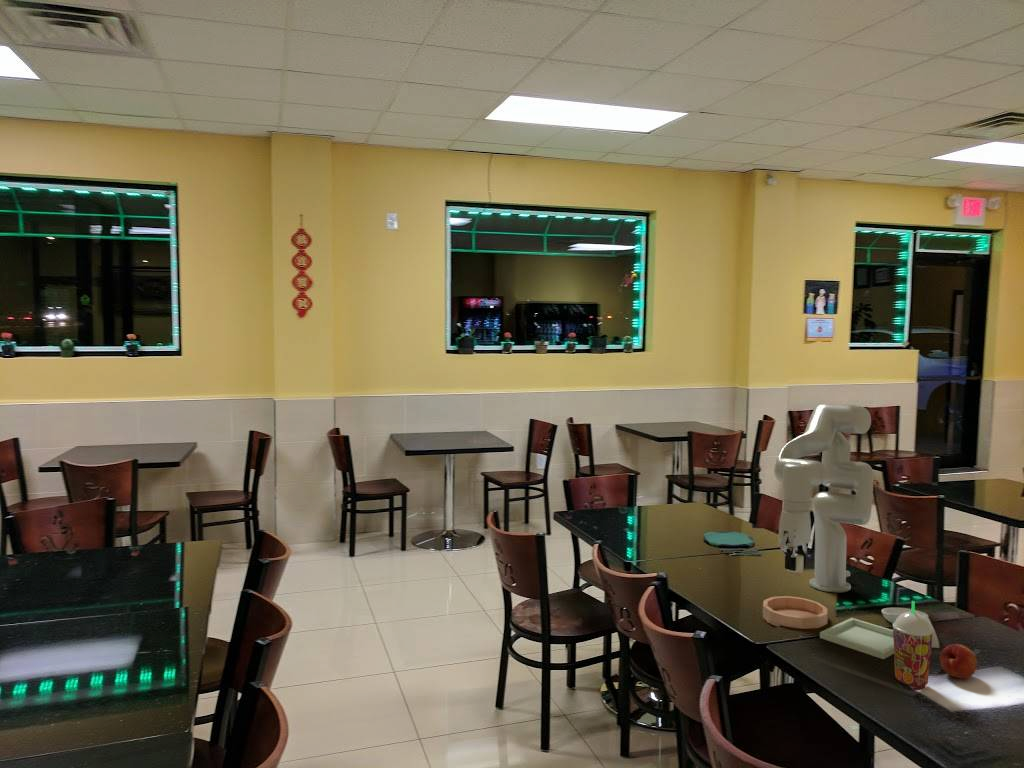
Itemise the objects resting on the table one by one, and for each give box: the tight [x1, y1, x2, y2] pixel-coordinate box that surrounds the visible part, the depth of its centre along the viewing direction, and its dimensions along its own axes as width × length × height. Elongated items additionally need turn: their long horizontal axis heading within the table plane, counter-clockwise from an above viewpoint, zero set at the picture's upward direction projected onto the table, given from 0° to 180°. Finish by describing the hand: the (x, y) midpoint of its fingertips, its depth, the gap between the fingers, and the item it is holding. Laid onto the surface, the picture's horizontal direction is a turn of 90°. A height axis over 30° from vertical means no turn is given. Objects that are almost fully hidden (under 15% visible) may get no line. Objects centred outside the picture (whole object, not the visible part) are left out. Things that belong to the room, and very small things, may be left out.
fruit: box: [939, 643, 978, 680], centre depth 172 cm, size 8×8×8 cm
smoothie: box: [892, 600, 933, 691], centre depth 168 cm, size 8×8×20 cm
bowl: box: [762, 595, 829, 630], centre depth 208 cm, size 17×17×4 cm
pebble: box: [786, 554, 804, 574], centre depth 208 cm, size 4×4×4 cm
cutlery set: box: [702, 531, 762, 556], centre depth 288 cm, size 20×30×2 cm, turn 176°
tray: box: [819, 617, 894, 660], centre depth 192 cm, size 17×17×2 cm
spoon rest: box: [881, 607, 940, 649], centre depth 198 cm, size 24×12×7 cm, turn 172°
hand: (795, 567), depth 208 cm, fingers closed on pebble, 4 cm apart
